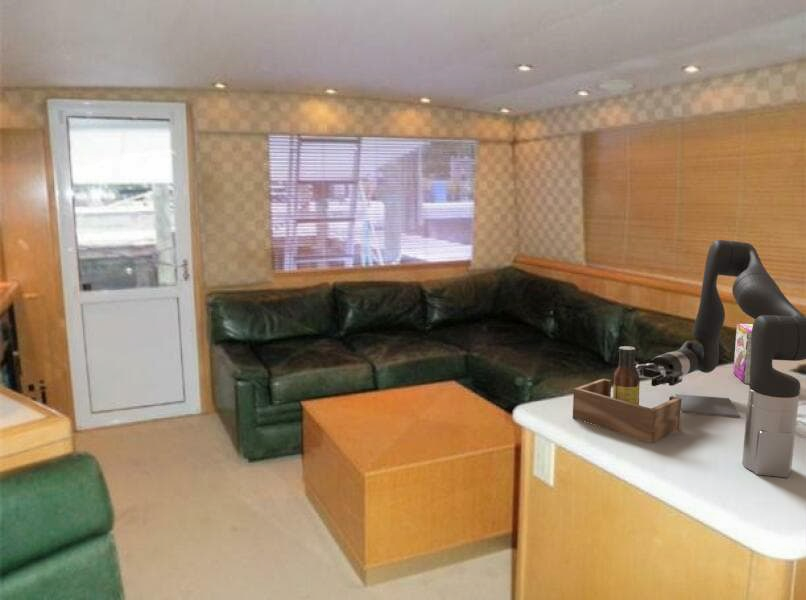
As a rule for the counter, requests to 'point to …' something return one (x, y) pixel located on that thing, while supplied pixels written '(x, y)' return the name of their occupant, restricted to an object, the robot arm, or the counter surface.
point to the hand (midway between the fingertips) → (637, 378)
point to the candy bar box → (743, 352)
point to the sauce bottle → (626, 377)
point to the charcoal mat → (707, 405)
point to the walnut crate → (625, 413)
